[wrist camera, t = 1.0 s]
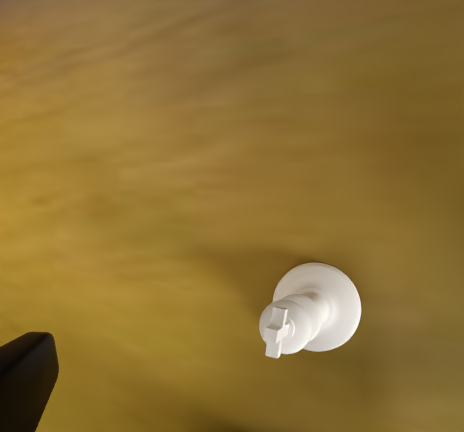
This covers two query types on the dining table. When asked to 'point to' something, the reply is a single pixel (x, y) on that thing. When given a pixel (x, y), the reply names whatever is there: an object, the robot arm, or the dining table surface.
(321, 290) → the chess piece
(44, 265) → the dining table surface
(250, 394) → the dining table surface
